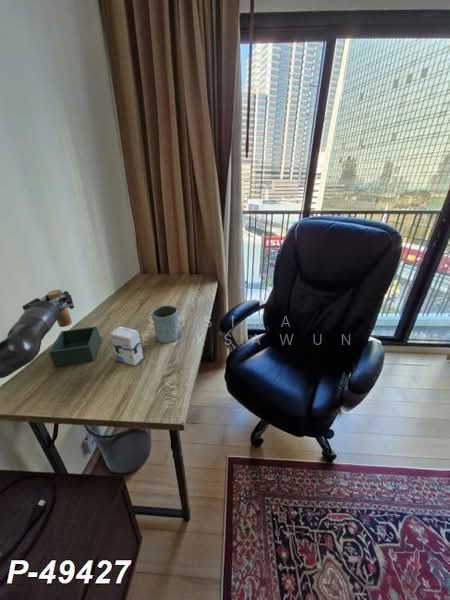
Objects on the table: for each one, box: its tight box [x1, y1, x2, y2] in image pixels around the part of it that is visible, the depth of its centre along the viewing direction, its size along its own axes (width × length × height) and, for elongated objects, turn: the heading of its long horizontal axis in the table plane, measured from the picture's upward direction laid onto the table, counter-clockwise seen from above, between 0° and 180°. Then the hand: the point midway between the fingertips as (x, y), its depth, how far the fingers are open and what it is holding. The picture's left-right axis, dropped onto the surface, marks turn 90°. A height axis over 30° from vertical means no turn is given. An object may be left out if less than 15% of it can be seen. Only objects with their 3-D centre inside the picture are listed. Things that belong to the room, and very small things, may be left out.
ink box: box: [109, 326, 144, 367], centre depth 88 cm, size 8×5×12 cm, turn 68°
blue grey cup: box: [150, 305, 179, 344], centre depth 101 cm, size 10×10×12 cm
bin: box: [48, 326, 101, 368], centre depth 93 cm, size 13×14×6 cm
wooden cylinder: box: [46, 289, 73, 328], centre depth 84 cm, size 4×4×12 cm
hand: (59, 294), depth 84 cm, fingers closed on wooden cylinder, 4 cm apart
